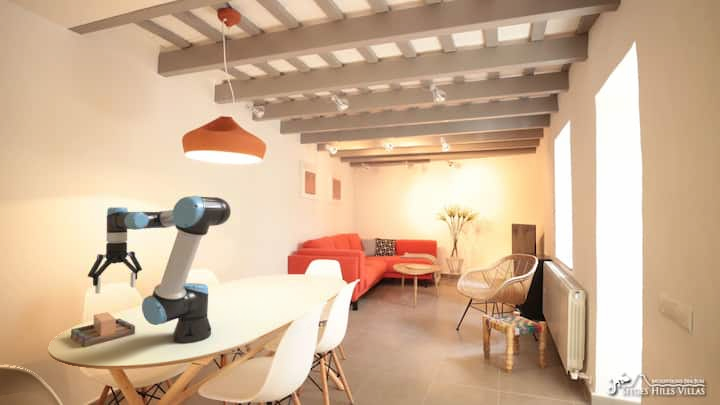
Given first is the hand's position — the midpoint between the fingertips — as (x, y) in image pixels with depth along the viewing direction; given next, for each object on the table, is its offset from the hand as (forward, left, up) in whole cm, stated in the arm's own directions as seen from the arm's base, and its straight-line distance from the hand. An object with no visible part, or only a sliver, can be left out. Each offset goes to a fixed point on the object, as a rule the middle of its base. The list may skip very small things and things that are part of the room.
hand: (115, 290), depth 150 cm
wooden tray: (+1, +4, -20) cm, 20 cm away
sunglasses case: (+1, +4, -17) cm, 17 cm away
